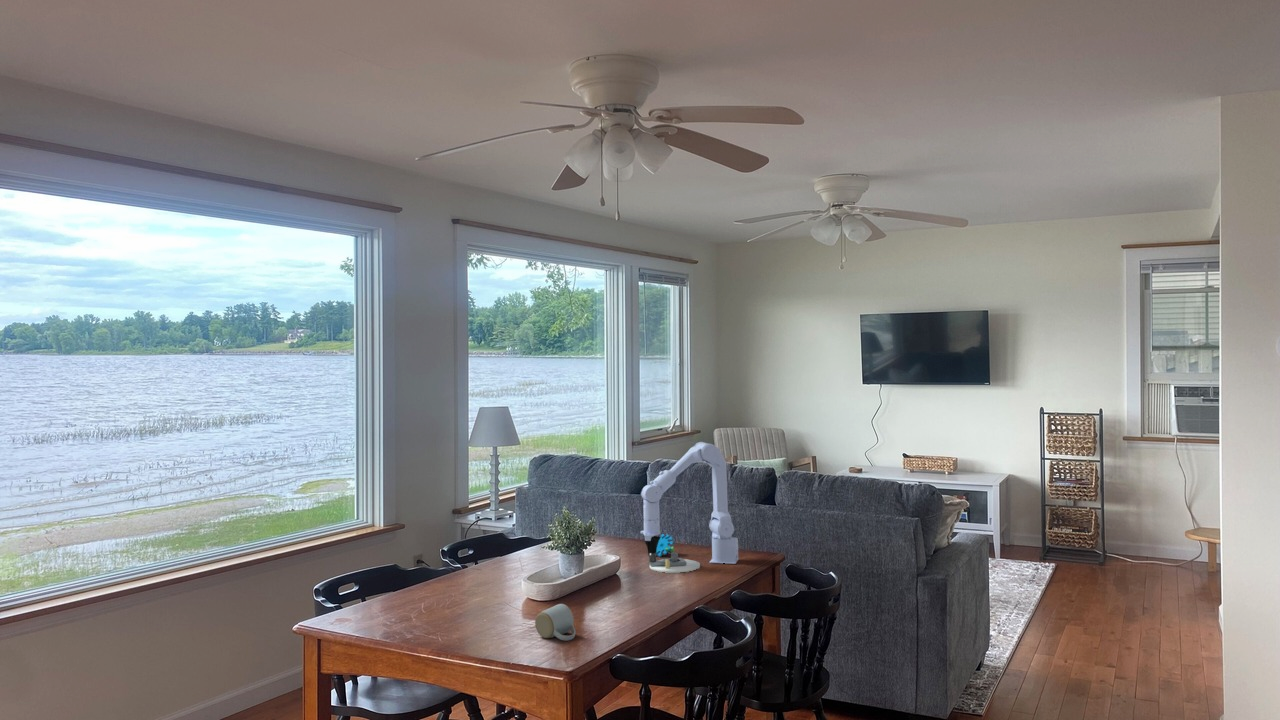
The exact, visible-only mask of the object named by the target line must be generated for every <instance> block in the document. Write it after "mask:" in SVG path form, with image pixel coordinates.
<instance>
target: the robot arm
mask: <svg viewBox="0 0 1280 720" xmlns="http://www.w3.org/2000/svg"><path fill="white" fill-rule="evenodd" d="M701 462H705V463H706V464H707V465H708V466H709V467H711V474H712V475H711V476H712V477H711V479H712V480H711V482H712V507H713V511H712V512H711V514H710V515H711V518H710V520H709V524H708V528H709V530H710V532H712V533H711V554H712V556H711V559H710V561H709V564H723V563H725V564H726V565H727V564H728V565H729V564H731V565H736V564H737V563H738V561H739V541H738V540H739V539H738V537H733V536H732V535H733V534H734V531H735V526H734V524H733V521H732V515H731V514H730V512H729V507H728V504H729V503H728V499H729V498H728V478H727V477H728V476H727V471H728V470H727V461H726V459H725V458H724V456H723V455H722V453H721V449H720V448H718V446H716V445H715V444H712V443H707V442H705V441H699V442H696V443H695V444H694V446H692V447H690V448H689V450H688V451H686V452H685V454H684V455H683V456H681V458H680V459H679V460H678V461H677V462H675V464H674V465H673V466H672V467H671V468H670V469H665V470H663V471H662V470H660V471H659V473H658V474H659V475H658V476H657V477H655V478H654V480H651V481H649V484H646V485H645V486H643V488H642V489H641V491H640V496H641V498H642V499H643V501H642V502H643V530H640V534H642V535H643V536H644V537H643V541H644V544H645V545H646V549H647V554H648V556H649V553H651V552H654V553H656V551H657V545H658V542H659V540H660V538H661V536H658V535H660V534H661V528H660V527H661V523H660V522H661V521H660V500H661V499H662V495H663V494H664V493H665V492H666V491H667V490H668V489H669V488H671V487H672V486H673V485H674V484H675V483H676V481H677V480H676V479H677V477H678V475H680V474H681V473H683V471H685V470H686V469H687V468H689V466H691V465H692V464H694V463H701ZM725 564H724V565H725Z"/></svg>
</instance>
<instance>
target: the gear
mask: <svg viewBox="0 0 1280 720" xmlns="http://www.w3.org/2000/svg"><path fill="white" fill-rule="evenodd" d="M674 543H675V542H674V538H673V537H672V536H670V535H669V534H668V533H667V534H666V535H665V534H664V533H663V534H661V535H660V540H659V542H658V545H657V551H656V557H659V558H662V556H663V555H665V556H666V555H668V554H671V553H674V551H675V550H676V549H675V547H674V545H675V544H674ZM667 553H668V554H667Z"/></svg>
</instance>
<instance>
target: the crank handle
mask: <svg viewBox="0 0 1280 720" xmlns="http://www.w3.org/2000/svg"><path fill="white" fill-rule="evenodd" d="M648 559H649V561H648V562H649V567H650V566H657V565H666V563H665V560H666V559H669V563H670V566H680V565H686V561H685V560H684V559H685V558H684V559H683V558H682V557H678V561H673V562H671V557H669V558H663V559H659V561H658V560H657V556H656V553H654V552H651V553H649V555H648Z"/></svg>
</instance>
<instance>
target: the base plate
mask: <svg viewBox="0 0 1280 720" xmlns="http://www.w3.org/2000/svg"><path fill="white" fill-rule="evenodd" d="M670 558H671V562H673V561H678V558H679V553H678V552H674V553H670ZM665 559H666V560H665V563H666V565H657V566H650V565H649V569H650V570H651V571H654V572H656V571H657V573H662V572H665V574H681V573H680V572H686V573H690V572H689V571H692V572H694V571H693V570H696V569H698V568H699V569H701V563H700V562H699V561H696V560H692V559H685V558H684V560H685V561H686V565H680V566H670V563H669V559H668V558H665ZM659 560H660V559H659ZM659 560H657V561H659ZM699 569H698V570H699ZM696 571H697V570H696Z"/></svg>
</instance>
